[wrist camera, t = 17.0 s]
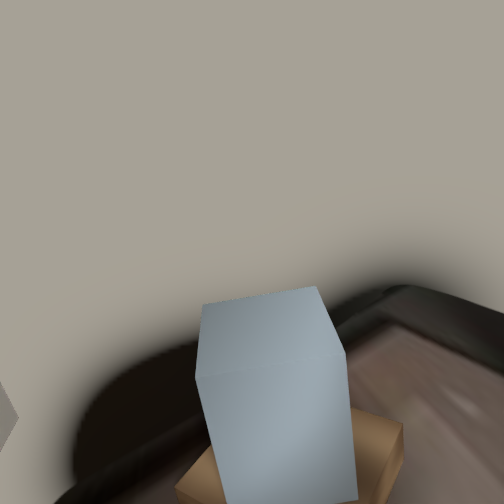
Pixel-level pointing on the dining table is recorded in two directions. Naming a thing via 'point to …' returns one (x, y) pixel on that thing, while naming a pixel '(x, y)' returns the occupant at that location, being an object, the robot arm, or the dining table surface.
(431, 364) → the dining table surface
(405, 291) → the dining table surface
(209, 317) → the slate block
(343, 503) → the walnut block
